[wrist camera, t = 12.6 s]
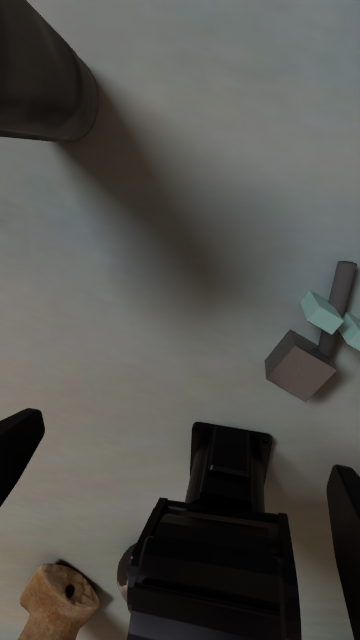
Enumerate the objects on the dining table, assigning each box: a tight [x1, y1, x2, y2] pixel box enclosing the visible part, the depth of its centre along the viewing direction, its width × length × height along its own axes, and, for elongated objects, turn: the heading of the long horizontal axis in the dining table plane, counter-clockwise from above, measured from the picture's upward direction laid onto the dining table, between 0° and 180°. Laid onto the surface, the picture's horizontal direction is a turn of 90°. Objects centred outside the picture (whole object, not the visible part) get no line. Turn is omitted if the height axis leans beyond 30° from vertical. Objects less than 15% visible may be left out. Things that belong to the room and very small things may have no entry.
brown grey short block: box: [265, 329, 337, 402], centre depth 20 cm, size 3×3×2 cm
